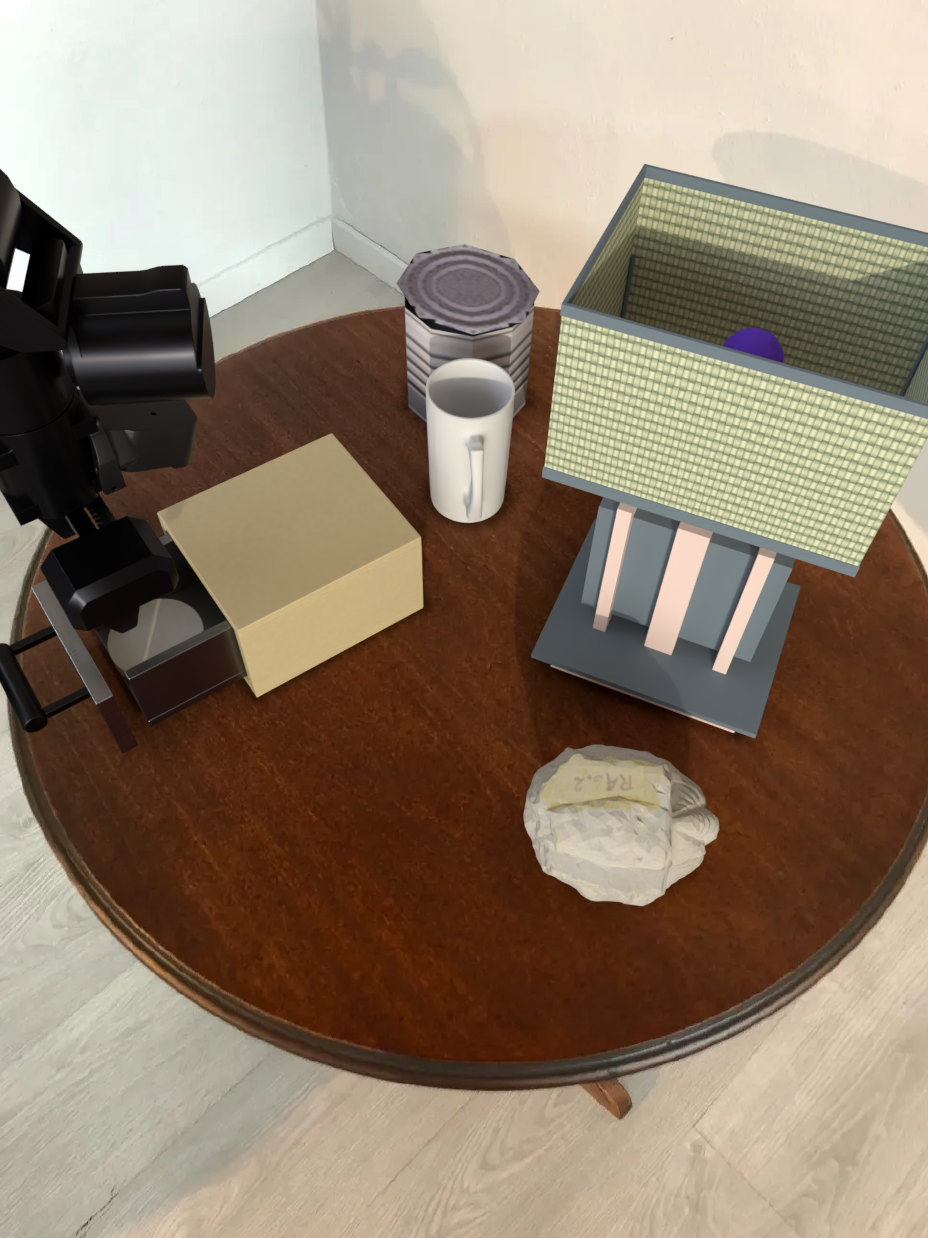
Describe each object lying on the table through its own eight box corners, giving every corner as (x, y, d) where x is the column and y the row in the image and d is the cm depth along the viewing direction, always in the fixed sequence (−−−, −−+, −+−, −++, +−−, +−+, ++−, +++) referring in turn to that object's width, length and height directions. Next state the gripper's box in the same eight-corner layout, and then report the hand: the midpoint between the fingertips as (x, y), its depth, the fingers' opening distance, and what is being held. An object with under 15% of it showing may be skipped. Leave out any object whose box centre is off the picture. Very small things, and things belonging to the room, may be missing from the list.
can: (423, 342, 97) (421, 231, 88) (539, 363, 96) (550, 253, 86) (388, 422, 91) (382, 312, 81) (512, 447, 89) (520, 337, 80)
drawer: (59, 788, 69) (25, 740, 63) (0, 670, 74) (-36, 616, 69) (294, 662, 75) (282, 608, 69) (223, 562, 80) (207, 505, 75)
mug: (425, 468, 88) (422, 359, 78) (502, 464, 88) (509, 355, 78) (433, 559, 82) (431, 454, 72) (515, 554, 82) (525, 449, 73)
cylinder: (137, 706, 71) (131, 692, 70) (99, 639, 75) (92, 625, 73) (224, 660, 74) (220, 646, 72) (183, 598, 77) (178, 583, 75)
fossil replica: (729, 887, 67) (653, 767, 73) (764, 822, 60) (678, 697, 66) (565, 952, 63) (499, 820, 69) (585, 890, 57) (511, 751, 63)
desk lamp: (519, 668, 76) (559, 307, 49) (581, 536, 84) (645, 161, 57) (758, 756, 72) (943, 415, 45) (801, 608, 80) (981, 242, 53)
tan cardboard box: (257, 697, 74) (237, 631, 67) (181, 584, 80) (156, 511, 73) (423, 607, 79) (421, 536, 72) (341, 507, 85) (331, 432, 78)
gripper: (240, 442, 51) (279, 621, 64) (92, 255, 60) (152, 445, 73) (27, 536, 47) (113, 706, 60) (-98, 321, 56) (0, 509, 69)
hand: (98, 580), depth 66 cm, fingers open, 9 cm apart
